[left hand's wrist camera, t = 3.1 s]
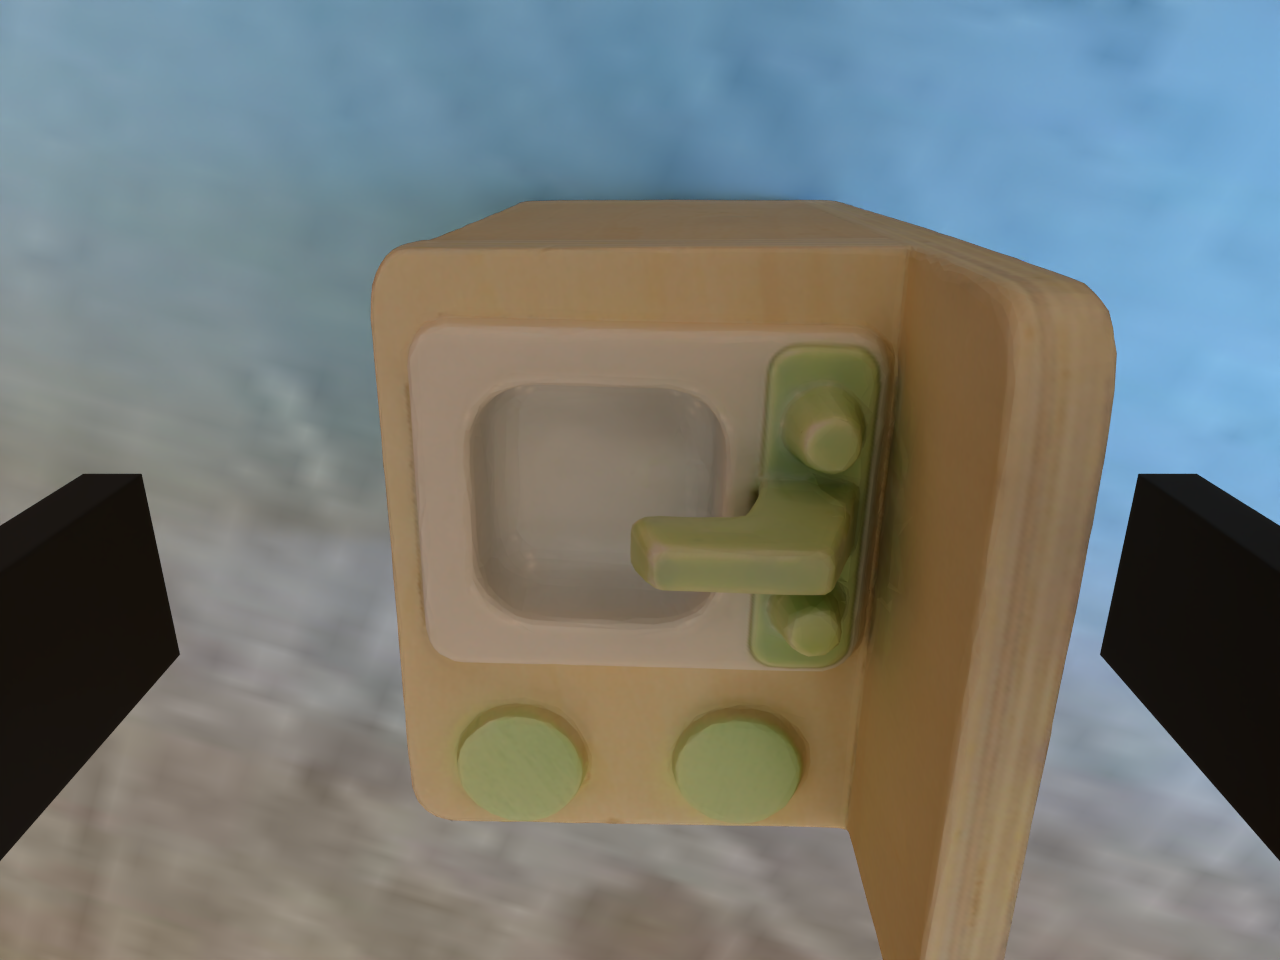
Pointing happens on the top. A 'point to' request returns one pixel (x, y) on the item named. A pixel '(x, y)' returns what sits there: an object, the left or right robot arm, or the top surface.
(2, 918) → the top surface
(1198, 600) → the left robot arm
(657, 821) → the toy sink
